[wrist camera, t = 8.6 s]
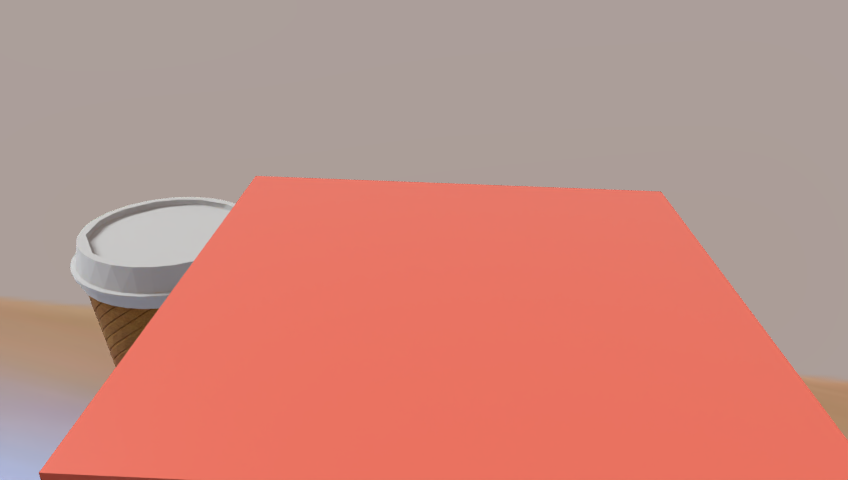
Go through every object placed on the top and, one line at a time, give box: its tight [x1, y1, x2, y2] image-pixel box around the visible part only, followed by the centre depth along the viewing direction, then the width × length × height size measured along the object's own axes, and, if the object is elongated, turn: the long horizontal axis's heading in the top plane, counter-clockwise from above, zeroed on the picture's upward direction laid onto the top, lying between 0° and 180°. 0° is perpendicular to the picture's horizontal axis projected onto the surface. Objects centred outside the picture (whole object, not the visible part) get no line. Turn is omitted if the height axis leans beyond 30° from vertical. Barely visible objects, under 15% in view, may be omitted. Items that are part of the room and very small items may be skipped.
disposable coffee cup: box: [70, 197, 235, 367], centre depth 38 cm, size 10×10×12 cm
